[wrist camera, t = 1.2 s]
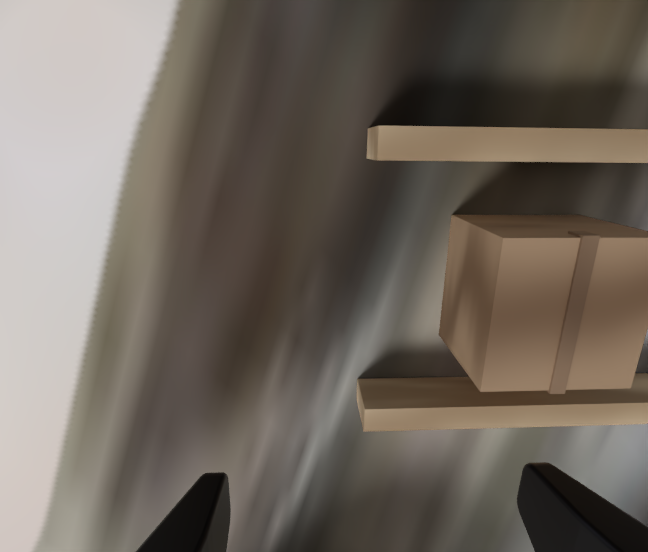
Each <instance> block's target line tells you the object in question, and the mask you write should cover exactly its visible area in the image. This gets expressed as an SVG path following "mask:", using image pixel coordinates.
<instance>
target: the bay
mask: <svg viewBox="0 0 648 552" xmlns="http://www.w3.org/2000/svg"><path fill="white" fill-rule="evenodd" d="M367 159H373V160H396V161H498V162H601V163H648V129H585V128H516V127H447V126H375V127H372V128H368V140H367ZM357 403H358V408H359V412H360V417H361V421H362V426H363V431H364V432H367V431H404V430H441V429H478V428H515V427H552V426H589V425H626V424H648V373H635V375H634V379H633V382H632V386H631V388H627V389H584V390H566V391H565V394H549V393H548V392H547V391H546V390H541V391H498V392H480V391H479V389H478V388H477V387H476V385H475V384H474V383H473V381H472V380H471V378H470V377H426V378H376V379H357Z"/></svg>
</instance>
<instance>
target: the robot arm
mask: <svg viewBox="0 0 648 552" xmlns="http://www.w3.org/2000/svg"><path fill="white" fill-rule="evenodd" d="M517 504H518V509H519V512H520V515H521V518H522V520H523V523H524V525H525V528H526V530H527V533H528V535H529V538H530V540H531V543H532V545H533V548H534V550H535V552H648V527H647V526H645V525H644V524H642V523H641V522H639V521H638V520H636V519H635V518H633V517H632V516H630V515H629V514H627V513H626V512H624V511H622V510H621V509H619V508H618V507H616V506H615V505H613V504H612V503H610V502H609V501H607V500H606V499H604V498H602V497H601V496H599V495H598V494H596V493H595V492H593V491H592V490H590V489H589V488H587V487H586V486H584V485H583V484H581V483H579V482H578V481H576V480H575V479H573V478H572V477H570V476H569V475H567V474H566V473H564V472H563V471H561V470H559V469H558V468H556V467H555V466H553V465H551V464H549V463H528V464H526V465H525V466H524V468H523V471H522V476H521V481H520V486H519V491H518V496H517ZM229 525H230V496H229V483H228V476H227V474H225V473H205V474H203V475H202V476H201V477H200V478H199V479H198V480H197V481H196V482H195V484H194V485H193V486H192V487H191V488H190V489H189V491H188V492H187V493H186V494H185V495H184V496H183V497H182V499H181V500H180V501H179V502H178V503H177V504H176V506H175V507H174V508H173V509H172V510H171V511H170V513H169V514H168V515H167V516H166V517H165V518H164V519H163V521H162V522H161V523H160V524H159V525H158V526H157V528H156V529H155V530H154V531H153V532H152V533H151V535H150V536H149V537H148V538H147V539H146V540H145V541H144V543H143V544H142V545H141V546H140V547H139V548H138V550H137V551H136V552H226V549H227V541H228V533H229Z"/></svg>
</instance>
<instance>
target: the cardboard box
mask: <svg viewBox="0 0 648 552" xmlns="http://www.w3.org/2000/svg"><path fill="white" fill-rule="evenodd" d="M647 329H648V231H644V230H640V229H636V228H632V227H628V226H624V225H619V224H615V223H611V222H607V221H603V220H599V219H595V218H591V217H587V216H582V215H452V217H451V226H450V236H449V245H448V254H447V264H446V273H445V282H444V292H443V301H442V311H441V320H440V329H439V336H440V337H441V339H442V340H443V341H444V343H445V344H446V345H447V347H448V348H449V350H450V351H451V352H452V354H453V355H454V356H455V358H456V359H457V361H458V362H459V363H460V365H461V366H462V367H463V369H464V370H465V372H466V373H467V374H468V376H469V377H470V378H471V380H472V381H473V383H474V384H475V385H476V387H477V388H478V389H479V391H480V392H498V391H541V390H546V391H547V392H548V393H549V394H565V391H566V390H584V389H627V388H631V386H632V382H633V379H634V375H635V371H636V368H637V364H638V361H639V357H640V354H641V350H642V347H643V343H644V339H645V336H646V332H647Z"/></svg>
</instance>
